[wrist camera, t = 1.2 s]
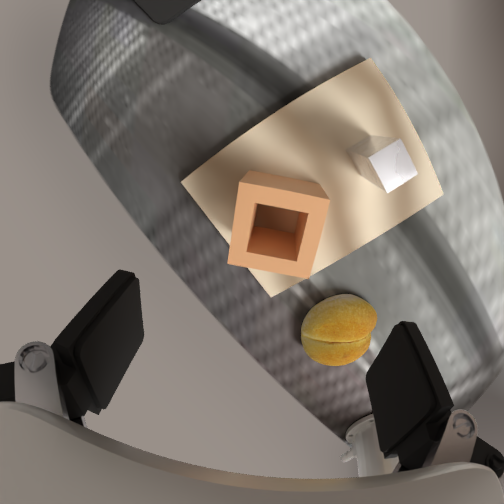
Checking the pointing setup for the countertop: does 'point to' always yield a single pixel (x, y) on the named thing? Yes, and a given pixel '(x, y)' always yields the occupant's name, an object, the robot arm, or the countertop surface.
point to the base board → (321, 167)
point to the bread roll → (338, 329)
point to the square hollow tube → (273, 241)
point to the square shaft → (382, 161)
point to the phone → (165, 8)
